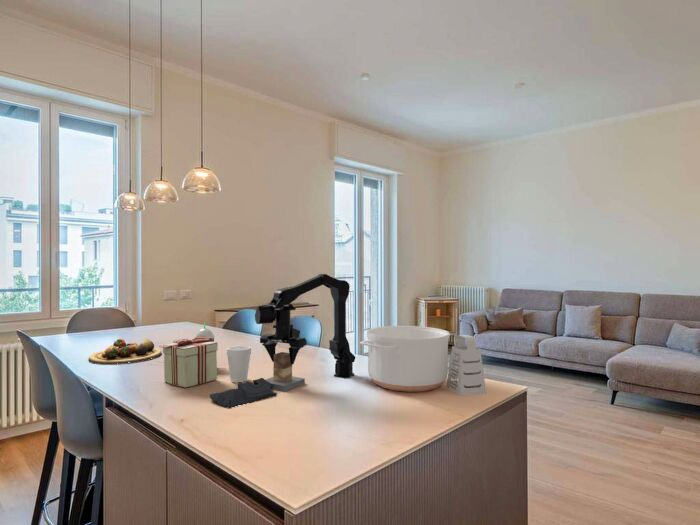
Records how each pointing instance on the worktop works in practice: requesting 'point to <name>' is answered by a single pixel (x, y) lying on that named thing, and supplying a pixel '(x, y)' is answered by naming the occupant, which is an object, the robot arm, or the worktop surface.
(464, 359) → the grater
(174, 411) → the worktop surface
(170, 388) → the worktop surface
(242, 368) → the foam cup
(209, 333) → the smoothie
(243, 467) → the worktop surface
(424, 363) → the pot
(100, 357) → the wooden plate with food
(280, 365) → the walnut block
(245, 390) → the dark slate chunk
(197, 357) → the gift box
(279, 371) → the oak block
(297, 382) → the base
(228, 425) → the worktop surface
